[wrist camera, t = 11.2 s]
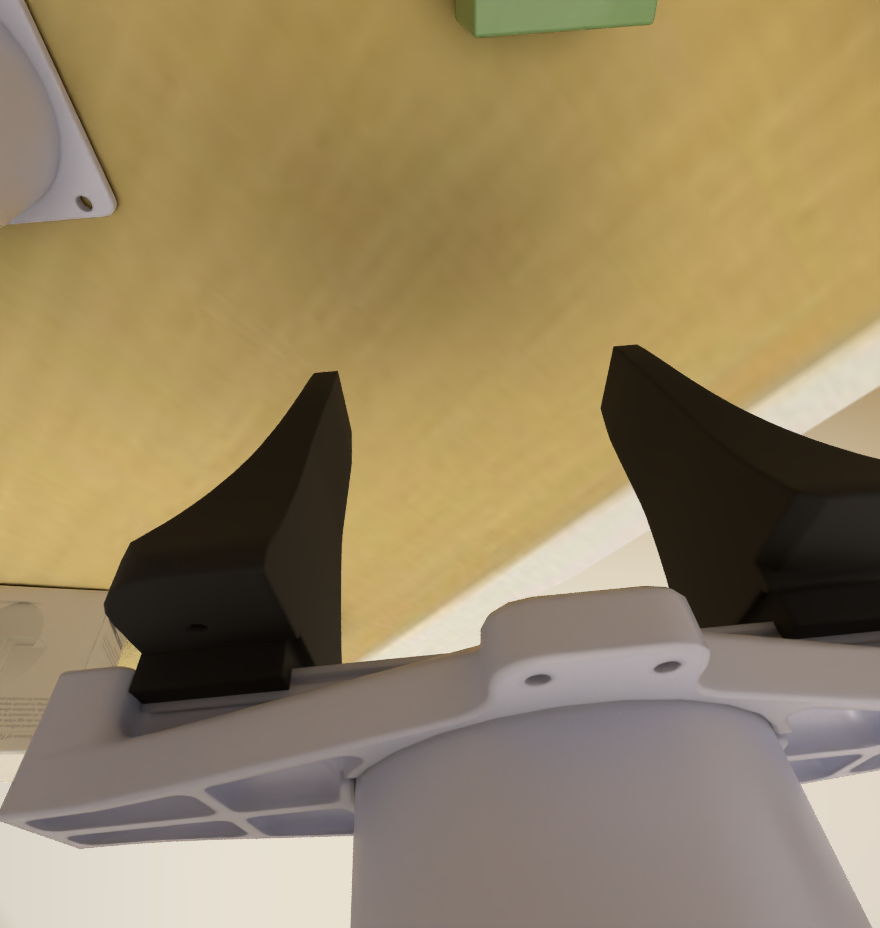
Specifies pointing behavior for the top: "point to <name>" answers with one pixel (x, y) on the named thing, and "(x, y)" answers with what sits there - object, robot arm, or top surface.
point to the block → (550, 15)
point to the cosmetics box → (45, 655)
